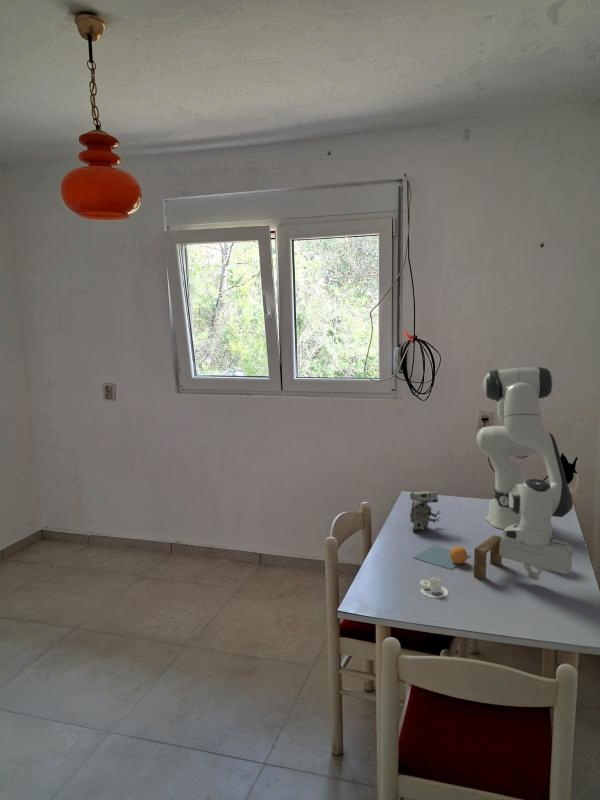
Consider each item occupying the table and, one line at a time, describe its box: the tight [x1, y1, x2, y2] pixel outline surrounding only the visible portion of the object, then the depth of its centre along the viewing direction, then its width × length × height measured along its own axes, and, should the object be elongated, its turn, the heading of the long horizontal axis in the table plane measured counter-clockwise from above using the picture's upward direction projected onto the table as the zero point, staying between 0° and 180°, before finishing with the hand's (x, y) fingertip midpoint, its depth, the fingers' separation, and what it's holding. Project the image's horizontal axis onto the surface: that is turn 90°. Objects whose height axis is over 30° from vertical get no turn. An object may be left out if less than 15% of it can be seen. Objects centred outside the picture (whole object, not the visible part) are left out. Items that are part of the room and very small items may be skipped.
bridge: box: [473, 534, 503, 581], centre depth 171 cm, size 3×14×9 cm, turn 138°
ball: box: [450, 545, 468, 565], centre depth 177 cm, size 6×6×6 cm
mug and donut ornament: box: [419, 576, 449, 599], centre depth 159 cm, size 9×8×4 cm
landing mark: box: [413, 544, 471, 571], centre depth 182 cm, size 14×14×1 cm
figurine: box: [409, 490, 441, 534], centre depth 207 cm, size 9×12×15 cm
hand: (533, 578), depth 162 cm, fingers closed
